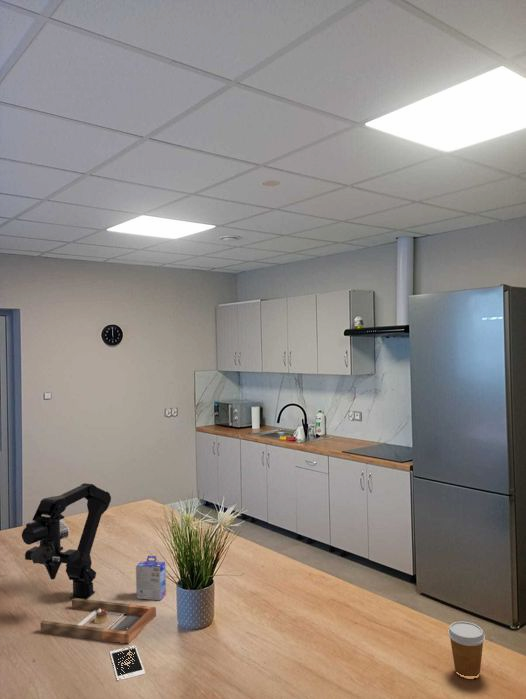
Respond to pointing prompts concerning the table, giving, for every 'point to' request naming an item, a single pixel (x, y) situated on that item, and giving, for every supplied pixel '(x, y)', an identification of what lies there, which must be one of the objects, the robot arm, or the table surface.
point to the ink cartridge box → (151, 579)
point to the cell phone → (134, 668)
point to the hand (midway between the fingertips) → (52, 579)
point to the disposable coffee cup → (466, 647)
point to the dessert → (100, 617)
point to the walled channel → (120, 633)
